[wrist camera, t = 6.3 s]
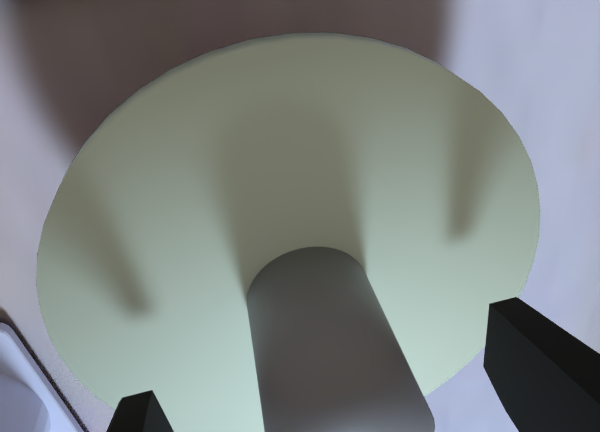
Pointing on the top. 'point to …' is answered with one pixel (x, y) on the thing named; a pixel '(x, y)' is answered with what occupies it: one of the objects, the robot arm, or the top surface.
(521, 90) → the top surface
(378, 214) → the lid
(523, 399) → the robot arm
